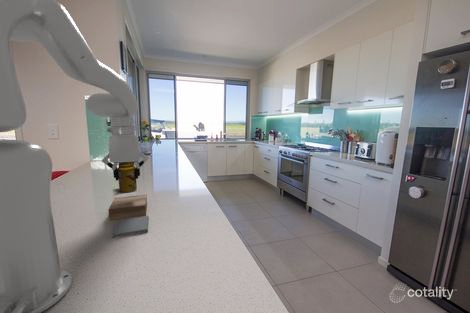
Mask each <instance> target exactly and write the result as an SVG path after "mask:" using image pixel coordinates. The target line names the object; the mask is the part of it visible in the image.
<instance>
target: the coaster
mask: <svg viewBox="0 0 470 313" xmlns="http://www.w3.org/2000/svg"><path fill="white" fill-rule="evenodd" d="M149 219H150V218H149V215H144V216H137V217H129V218H122V219H116V220H117V221H116V223H115V226H114V228H113V231H112V234H111V237H112V238H118V237H124V236H125V237H126V236H130V235H131V236H132V235H137V234H142V233H148V232H149V221H150V220H149Z"/></svg>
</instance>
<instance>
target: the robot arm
mask: <svg viewBox="0 0 470 313" xmlns="http://www.w3.org/2000/svg"><path fill="white" fill-rule="evenodd" d="M11 41H14V42H22V43H23V42H25V43H26V42H27V43H28V42H29V43H30V42H32V43H39V44H40V45H41V46H42V47H43V48H44V49H45V50H46V52H47V53H48V54H49V55H50V57H51V58H52V59H53V60H54V62H55V63H56V64H57V66H59V68H60V69H61V70H62V71H63V73H64V74H65V75H66V76H67V77H69V78H71V79H73V80H76V81H78V82H80V83H83V84H85V85H90V86H92V87H96V88H98V89H101V90H103V91H105V92H106V93H105V92H103V93H102V92H100V93H99V92H98V93H94V94H91V95H90V96H89V97H88V98H87V100H86V108H87V110H88V111H89V112H90V113H91V114H92V115H94V116H95V117H98V118H110V125H111V126H110V127H109V128H106V131H107V132H106V133H110V134H111V135H109V137H108V153H107V154H106V155H105V156H104V157H103V159H102V160H101V162H102V163H104V165H107V167H108V168H110V169H111V170H112V171H113V172H112V173H113V179H115V181H117V182H118V181H119V179H118V163H124V162H134V166H135V174H136V180H138V179H139V177H140V176H141V170H140V168H141V167H142V166H144V164H145V163H146V162H147V160H148V159H149V157H148V156H147V155H146V154H144V153H143V151H141V147H140V141H139V137H138V134H136V129H135V115H136V114H137V113H138V109H139V106H138V100H137V98H136V96H135V94H134V91H132V89H131V86H130V85H129V83H128V82H127V81H126V80H125V79H124V78H123V77H122V76H121V75H119V74H118V73H117V72H116V71H114V70H113V69H111V68H110V67H108V66H107V65H105V64H103V63H102V62H100V61H99V60H98V59H97V57H96V56H95V53H94V52H93V51H92V48H91V47H90V46H89V44H88V42H87V41H86V40H85V38H84V36H83V35H82V33H81V32H80V30H79V28H78V26H77V25H76V23H75V21H74V20H73V18H72V17H71V15H70V13H69V11H68V10H66V8H65V7H64V5H62V3H60V2H58V1H57V0H0V133H7V132H8V133H9V132H12V131H15V130H18V129H19V128H21V127H22V126H24V125H25V123H26V121H27V108H26V104H25V100H24V97H23V92H22V89H21V84H20V82H19V79H18V75H17V71H16V67H15V65H14V61H13V55H12V51H11ZM141 158H142V159H141ZM140 160H141V161H140ZM52 174H53V161H52V157H51V156H50V154H49V152H48V151H47V150H46V149H45V148H43V147H42V146H41V145H39V144H37V143H33V142H30V141H25V140H21V139H0V313H42V312H44V311H46V310H48V309H50V307H52V306H54V305H55V304H57V303H58V302H59V301H60V300H61V299H62V298H63V297H64V296H65V295H66V294H67V293H68V291H69V290H70V288H71V286H72V282H73V280H72V275H71V273H69V272H68V271H66V270H64V269H63V270H62V269H61V263H60V256H59V249H58V243H57V237H56V236H57V235H56V229H55V228H56V227H55V222H54V216H53V210H52V201H51V182H52Z"/></svg>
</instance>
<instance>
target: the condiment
mask: <svg viewBox="0 0 470 313" xmlns="http://www.w3.org/2000/svg"><path fill="white" fill-rule="evenodd" d="M117 168H118V179H119V180H118V187H119V188H112V193H113V196H116V195H124V194H129V193H136V192H139V191H140V190H139V188H138V182H137V179H136V174H135V168H136V166H135V164H134V162H124V163H118V165H117Z"/></svg>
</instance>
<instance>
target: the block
mask: <svg viewBox="0 0 470 313" xmlns="http://www.w3.org/2000/svg"><path fill="white" fill-rule="evenodd" d="M147 196H148V194H140V195H139V194H138V195H129V196H121V197H120V196H119V197H114V198H113V200H112V201H111V204H110V206H109V208H108V218H109V221H114V220H121V219H128V218H135V217H143V216H147V208H148V197H147Z"/></svg>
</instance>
